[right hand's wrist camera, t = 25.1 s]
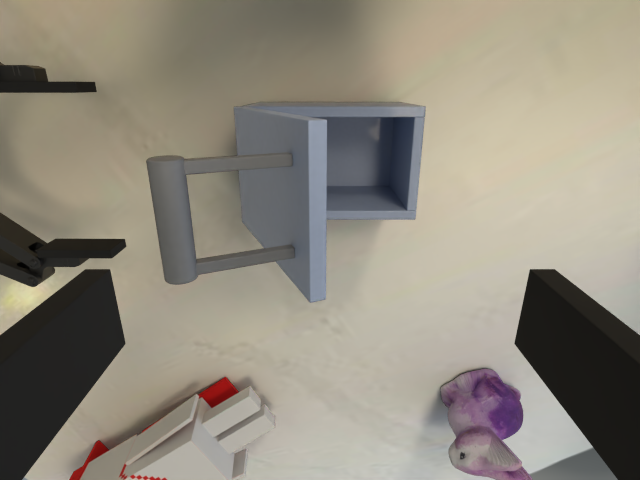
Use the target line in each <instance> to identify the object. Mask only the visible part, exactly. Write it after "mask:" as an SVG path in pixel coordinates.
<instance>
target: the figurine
mask: <svg viewBox="0 0 640 480" xmlns="http://www.w3.org/2000/svg"><path fill="white" fill-rule="evenodd" d="M440 390H441V397H442V401H443V403H444V404H445V406H447V407H448V408H449V410H448V420H449V424H450V426H451V428H452V430H453V432H454V434H455V435H456V439H455V441H454V442H453V443H452V445H451V446H450V448H449V458H450V460H451V463H452V465H453V466H454V467H455V468H457V469H459V470H461V471H463V472H465V473H468V474H471V475H475V476H484V477H490V478H493V479H496V480H532V478H531V476H530V475H529V474H528V473H527V472H526V470H525V469H524V468H523V467H522V462H521V461H520V460H519V459H518V457H517V456H516V455H515V454H514V453H513V452H512V451H511V450H510V449H509V448H508V446H507V445H506V444H505V443H504V442H503V441H502V440H503V439H506V438H508V437H510V436H512V435H513V434H515V433H516V432H517V431H518V430H519V429H520V427H521V425H522V422H523V409H522V405H521V403H520V401H519V400H520V398H521V393H520V391H519V390H518V389H517V388H514V387H512V386H509V385H506V384H504V383H503V382H502V380H501V379H500V377H499V375H498V374H497V373H496V372H495V371H493V370H490V369H480V370H475V371H470V372H467V373H464V374H460V375H459V376H458V377H457V378H455V379H454V380H453V381H451V382H448V383H446V384H445V385H443V386H442V387H441V389H440Z"/></svg>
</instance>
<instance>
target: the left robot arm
mask: <svg viewBox="0 0 640 480" xmlns="http://www.w3.org/2000/svg"><path fill="white" fill-rule="evenodd" d="M79 92H97V91H96V86H95V82H48V79H47V74H46V70H45V69H44V68H42V67H39V66H29V65H3V64H2V63H1V62H0V93H79ZM125 247H126V242H125V239H54V240H53V241H51V242H49V243H46V242H44V241H43V240H41V239H40V238H38V237H37V236H35V235H34V234H32V233H31V232H29V231H28V230H26V229H25V228H23V227H21V226H20V225H18V224H17V223H15V222H14V221H12V220H11V219H9V218H8V217H6V216H5V215H3V214H2V213H0V274H1V275H3V276H6V277H8V278H11V279H13V280H16V281H18V282H21V283H23V284H26V285H28V286H31V287H35V286H37V285H38V284H40V283H41V282H43V281H44V280H46V279H47V278H49V277H50V276H51V275H53V274H54V273H55V269H54V267H76V266H79V265H81V264H82V263H83V262H85V261H86V260H88V259H89V258H113V257H114V256H115V255H117V254H118V253H119V252H120V251H121V250H123V249H124V248H125Z"/></svg>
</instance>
